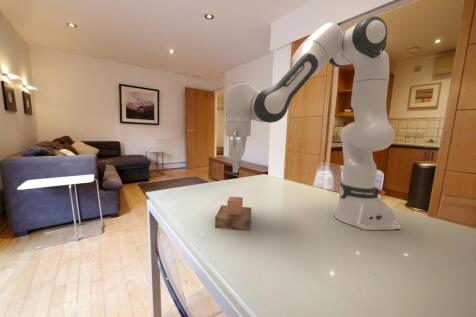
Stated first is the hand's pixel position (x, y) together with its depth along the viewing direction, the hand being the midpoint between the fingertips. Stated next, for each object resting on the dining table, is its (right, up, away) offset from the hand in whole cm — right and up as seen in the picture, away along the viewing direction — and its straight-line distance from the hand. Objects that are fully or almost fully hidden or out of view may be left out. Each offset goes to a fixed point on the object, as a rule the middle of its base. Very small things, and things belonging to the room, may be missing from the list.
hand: (236, 169), depth 74 cm
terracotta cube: (-1, -16, +2) cm, 16 cm away
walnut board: (-1, -20, +3) cm, 20 cm away
